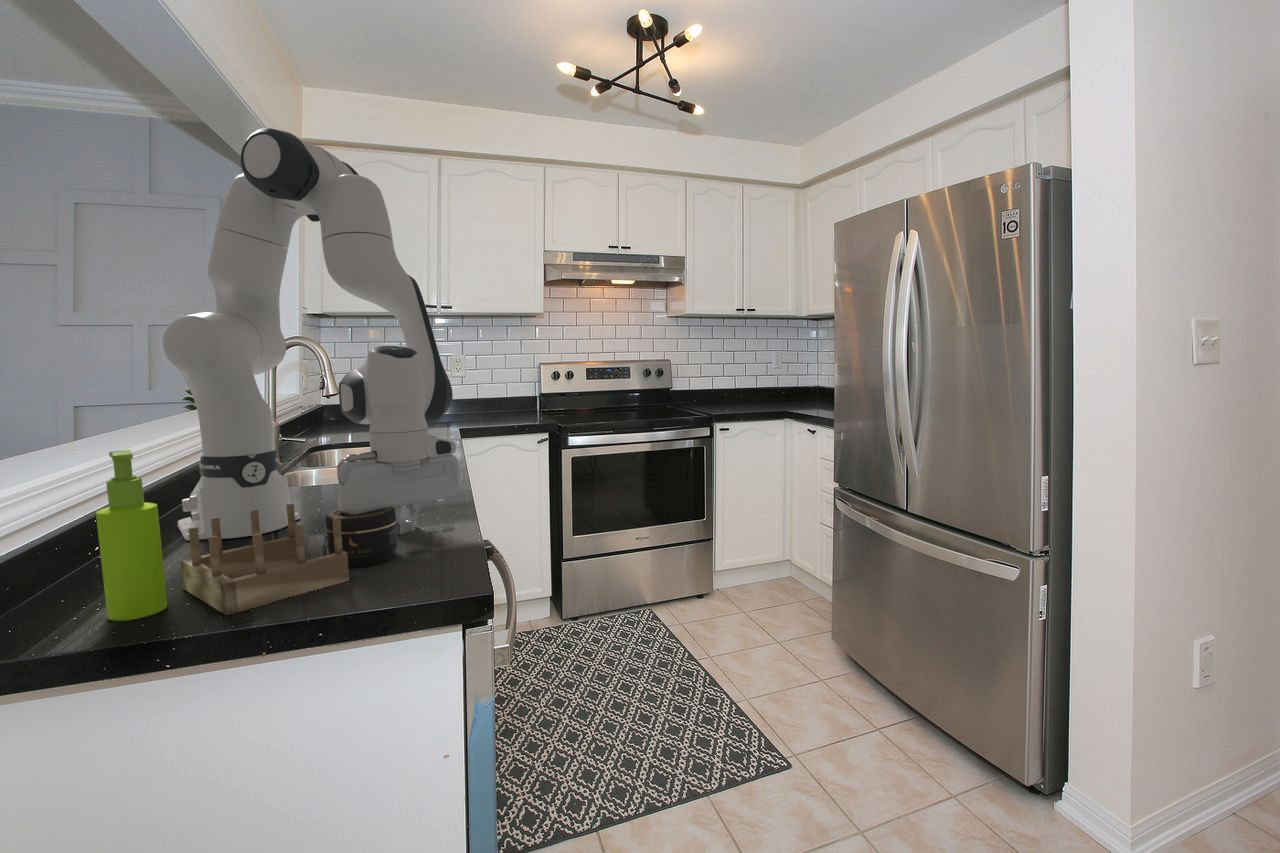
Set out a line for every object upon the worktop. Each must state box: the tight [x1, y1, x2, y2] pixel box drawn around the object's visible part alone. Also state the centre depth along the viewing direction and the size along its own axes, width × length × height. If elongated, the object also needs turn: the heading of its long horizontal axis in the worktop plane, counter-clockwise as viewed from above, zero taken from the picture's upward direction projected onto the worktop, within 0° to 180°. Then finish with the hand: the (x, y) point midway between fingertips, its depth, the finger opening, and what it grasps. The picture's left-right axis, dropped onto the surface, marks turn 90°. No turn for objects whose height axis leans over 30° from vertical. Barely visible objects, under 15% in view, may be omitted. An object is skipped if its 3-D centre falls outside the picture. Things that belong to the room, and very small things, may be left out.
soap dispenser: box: [95, 449, 168, 622], centre depth 79 cm, size 6×7×20 cm
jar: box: [325, 507, 398, 569], centre depth 99 cm, size 10×10×8 cm
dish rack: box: [180, 503, 350, 616], centre depth 88 cm, size 15×15×9 cm
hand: (404, 531), depth 105 cm, fingers closed
